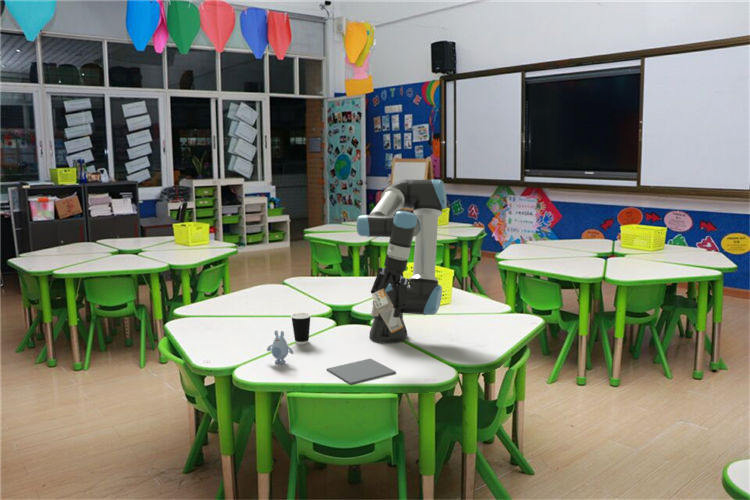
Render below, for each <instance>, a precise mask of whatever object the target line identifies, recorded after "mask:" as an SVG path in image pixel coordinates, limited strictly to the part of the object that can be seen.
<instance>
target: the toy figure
mask: <svg viewBox="0 0 750 500" xmlns="http://www.w3.org/2000/svg"><path fill="white" fill-rule="evenodd" d="M273 334H274V335H275V338H274V340H273V342H272V344H270V345H269V346H268V347H267V348H266V351H267V352H271V354H272V357H273V358H275V360H274V363H275V364H281V365H284V364H286V360H285V358H287V356H288V355H289V354H291V355H294V350H293V348H292V347H290V346H289V345H288V342H287V340H286V339H285V337H284V336H285V332H284V331H283V330H281V331H280V335H279V330H278V329H277V330H275V331H274V333H273Z"/></svg>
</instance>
